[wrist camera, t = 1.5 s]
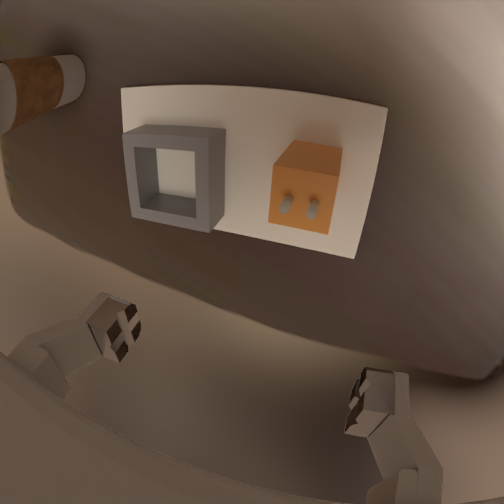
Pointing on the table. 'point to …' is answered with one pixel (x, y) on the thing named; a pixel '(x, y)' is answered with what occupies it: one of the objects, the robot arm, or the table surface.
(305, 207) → the plug
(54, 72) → the coffee cup
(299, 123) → the white board with socket
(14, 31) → the table surface
